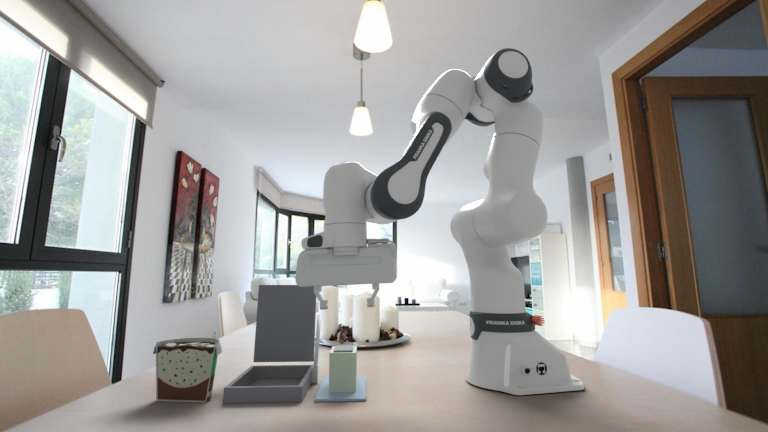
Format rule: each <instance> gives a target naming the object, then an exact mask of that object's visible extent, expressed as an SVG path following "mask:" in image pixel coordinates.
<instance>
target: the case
mask: <svg viewBox="0 0 768 432" xmlns="http://www.w3.org/2000/svg"><path fill="white" fill-rule="evenodd" d="M321 326H322V314H318V315H317V320H316V330H315V347H314V362H313V364H292V365H291V364H288V365H287V364H282V365H280V364H279V365H277V364H276V365H275V364H274V365H270V364H267V365H251V366H249V367H248V368H247V369H246V370H244V371H243V372H242V373H241V374H239V375H238V376H237V377H235V379H233V380H232V381H230V383H228V384H227V385H226V386H224V387H223V394H222V395H223V396H222V398H223V399H222V404H235V403H236V404H239V403H240V404H241V403H242V404H243V403H244V404H245V403H246V404H249V403H252V404H253V403H295V402H296V403H297V402H299V403H302V402H303V401H304V398H305V397H306V395H307V393H308V391H309V388H310V386H311V384H318V382H319V365H318V364H319V363H318V362H319V351H320V349H319V348H320V340H321V339H320V337H321ZM255 379H257V380H258V379H259V380H260V379H261V380H263V379H301V381H300V383H299V384H298V385H297V384H296V385H295V384H294V385H293V384H292V385H249V384H250V383H251V382H252V381H254V380H255Z"/></svg>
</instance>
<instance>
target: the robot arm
mask: <svg viewBox="0 0 768 432" xmlns="http://www.w3.org/2000/svg"><path fill="white" fill-rule="evenodd" d="M532 80H533V70H532V65H531V62H530V61H529V59H528V57H527V56H526V55H525V54H524V53H523V52H522V51H520V50H519V49H516V48H511V47H509V48H508V47H506V48H502V49H499V50H498V51H496V52H495V53H494V54H492V55H491V56H490V57H489V58H488V60H486V62H485V64H484V66H483V67H482V68H481V70H480V72H479V73H478V74H477V76H476V75H474V76H473V75H470V74H469V73H468V72H466V71H464V70H462V69H458V68H457V69H456V68H452V69H448V70H446V71H445V72H443V73H442V74H441V75H440V76H439V77H438V78H437V79H436V80H435V81H434V82H433V84H431V86H430V87H429V88H428V90H427V91H426V92H425V94H424V95H423V96H422V98H421V99H420V101H419V103H418V104H417V106H416V108H415V109H414V110H415V111H414V112H413V114H412V117H411V119H410V129H411V131H412V133H413V137H412V139H411V140H410V142H409V144H408V146H407V147H406V149H405V150H404V152H403V154H402V155H401V156H400V159H398V161H396V162H395V163H394V164H392V165H390V166H389V167H386V169H384V170H383V171H381V172H380V173H379V174H375V173H373V172H372V171H370V170H368V169H366V168H365V167H364V166H363V165H362V163H360V162H358V161H343V162H338V163H336V164H334V165H332V166H330V167H329V168H328V169H327V171H326V173H325V175H324V180H323V190H322V192H323V193H322V195H323V196H322V198H323V199H322V201H323V205H322V206H323V209H324V213H325V215H324V216H325V217H324V221H323V231H321V232H318V233H315V234H313V235H308V236H306V237H303V238H302V239H301V241H300V242H301V248H302V249H303V250H302V251H301V252H300V253H299V254H298V257H297V258H296V259H297V260H296V267H295V285H298V286H299V287H311V286H314V293H315V295H316V299H317V300H318V301H319V310H328V308H329V305H328V302H329V300H328V299H324V298H323V296H322V294H321V293H320V292H322V291H323V287H328V286H331V287H332V286H352V285H353V286H355V285H356V286H357V285H371V287H372V288H371V289H372V290H373V293H372V294H371V296H370V297H367V298H366V302H367V303H366V307H367V308H375V298H376V296H377V295H378V293H379V291H380V285H381V284H393V283H394V282H395V281H396V280H397V272H396V270H397V269H396V264H395V258H396V257H397V246H396V243H395V242H394V241H393V240H391V239H390V238H386V237H383V238H368V237H367V236H368V235H367V234H368V231H367V222H368V223H372V224H373V223H374V224H378V225H389V224H391V223H394V222H398V221H400V220H405V219H408V218H411V217H412V216H414V215H415V214H416V213H417V212H418V211H419V210H420V208H421V207H422V205H423V202H424V199H425V194H426V193H425V192H426V184H427V180H428V177H429V174H430V172H431V170H432V169H433V166H434V164H435V162H436V161H437V159H438V158H439V156H440V154H441V152H442V150H443V148H444V146H446V145H447V144H448V143H449V142H450V141H451V140H452V139H453V137H454V136H455V135H456V134H457V132H458V130H459V129H460V127H461V126H462V124H463V122H464V121H465V120H466V121H468V122H470V123H472V124H473V125H475V126H478V127H489V126H492V125H494V131H493V134H492V137H491V140H490V143H489V148H488V151H487V153H486V157H485V160H484V164H483V167H482V168H483V169H482V171H483V175H484V176H485V178H486V179H487V180H488V182H489V187H488V192H487V194H486V196H485V197H484V198H482V199H478V200H476V201H472V202H470V203H467V204H465V205H464V206H462V207H461V208H459V209H458V210H457V211H456V212H455V213H454V214H453V215H452V217H451V220H450V225H449V226H450V231H451V235H452V237H453V239H454V240H455V242H456V243H458V245H459V246H460V248H461V250H462V253H463V255H464V259H465V261H466V265H467V269H468V274H469V283H470V285H469V286H470V303H471V310H470V311H469V321H468V322H469V323H468V325H469V335H470V339H471V343H470V344H471V346H470V357H469V364H468V368H467V374H466V376H465V377H466V378H465V379H466V381H467V383H469V384H471V385H473V386H476V387H479V388H483V389H488V390H493V391H497V392H498V391H499V392H504V393H506V394H510V395H512V396H513V395H514V396H526V395H535V394H536V395H537V394H538V395H539V394H550V393H551V394H552V393H563V392H573V391H582V390H584V389H585V387H584V382H583V381H582V380H581V379H580V378H578V377H576V376H575V375H573V374H571V371H570V367H569V366H570V365H569V363H568V360H567V358H566V355H565V353H564V352H563V351H562V350H561V349H560V348H558V347H557V346H556V345H555V344H553V343H552V342H551V341H549V340H548V339H547V338H545V336H543V335H541V334H540V333H539V332H538V331H536V326H538V327H541V326H542V327H543V326H544V324H545V318H544V317H543V316H542V315H538V314H534V315H533V314H531V313H529V312H527V311H526V310H527V309H526V295H525V279H524V275H523V273H522V272H521V270H520V269H519V268H518V267H517V266H516V265H514V263H513V262H512V260H511V257H510V255H509V252H508V249H507V246H511V245H519V244H522V243H525V242H528V241H530V240H532V239H535V238H536V237H539V236H540V235H541V234H543V232H544V231H545V229H546V227H547V223H548V211H547V207H546V204H545V203H544V202H543V199H542V198H541V197H540V196H539V195H538V194H537V193H536V192H535V190H534V189H535V187H534V175H535V170H536V165H537V162H538V158H539V157H538V156H539V153H540V149H541V144H542V140H543V139H542V138H543V129H544V116H543V112H542V110H541V108H539V107H538V105H536V104H535V103H532V102H530V101H529V97H531V96H532V94H533V93H534V85H533V81H532Z"/></svg>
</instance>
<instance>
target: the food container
mask: <svg viewBox="0 0 768 432" xmlns="http://www.w3.org/2000/svg"><path fill="white" fill-rule="evenodd" d="M222 349H223V348H222V344H221V343H220V340H219V339H218V338H214V337H212V338H211V337H184V338H183V337H182V338H172V339H167V340H165V339H164V340H160V341H156V342H155V345H154V348H153V350H152V351H153V352H152V354H153V355H155V379H156V380H155V385H156V386H155V391H156V395H155V397H156V398H155V399H156V400H155V402H176V403H177V402H179V403H183V402H184V403H208V402H209V401H211V399H212V393H213V389H214V388H213V387H214V381H215V375H216V369H217V362H218V356H219V355H221V354H222V353H223V350H222Z"/></svg>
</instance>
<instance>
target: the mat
mask: <svg viewBox="0 0 768 432" xmlns="http://www.w3.org/2000/svg"><path fill="white" fill-rule="evenodd" d="M366 401H367V376H366V375H365V376H357V383H356V392H329V376H324V377H323V378H322V380H321V382H320V385H319V388H318V390H317V393H316V394H315V398H314V403H316V402H317V403H318V402H319V403H321V402H323V403H325V402H328V403H329V402H366Z"/></svg>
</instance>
